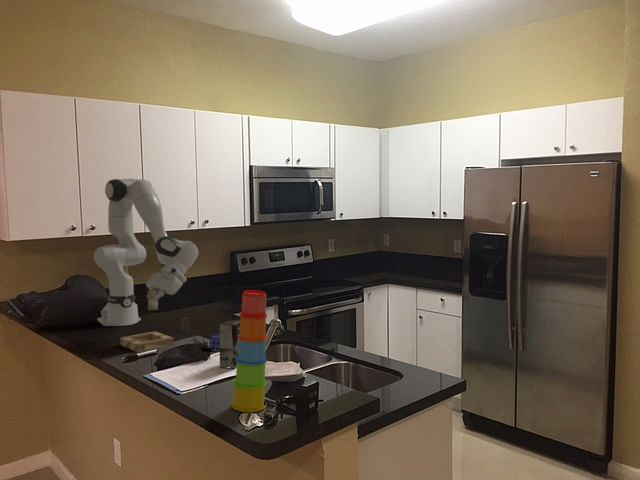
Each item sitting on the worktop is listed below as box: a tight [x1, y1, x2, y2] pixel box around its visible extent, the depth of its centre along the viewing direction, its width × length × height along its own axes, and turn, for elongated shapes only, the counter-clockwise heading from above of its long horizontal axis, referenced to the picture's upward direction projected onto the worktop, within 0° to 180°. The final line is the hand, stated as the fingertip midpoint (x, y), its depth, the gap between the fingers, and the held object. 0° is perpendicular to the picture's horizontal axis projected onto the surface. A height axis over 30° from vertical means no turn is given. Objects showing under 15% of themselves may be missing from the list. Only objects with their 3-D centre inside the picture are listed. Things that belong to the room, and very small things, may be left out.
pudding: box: [207, 334, 220, 352], centre depth 221 cm, size 12×12×5 cm
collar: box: [119, 330, 175, 354], centre depth 225 cm, size 16×16×3 cm
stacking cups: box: [231, 289, 268, 413], centre depth 158 cm, size 10×10×35 cm
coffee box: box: [219, 319, 241, 369], centre depth 198 cm, size 9×6×16 cm
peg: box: [147, 289, 159, 311], centre depth 226 cm, size 4×4×8 cm
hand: (151, 298), depth 225 cm, fingers closed on peg, 4 cm apart
